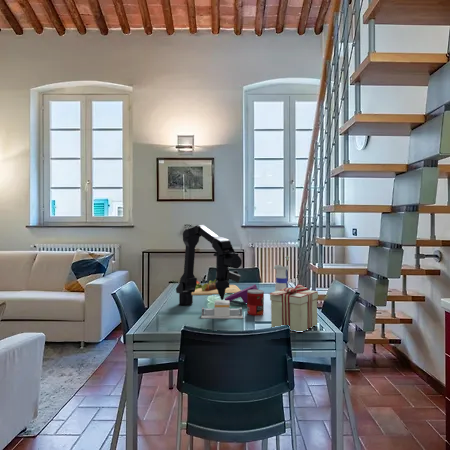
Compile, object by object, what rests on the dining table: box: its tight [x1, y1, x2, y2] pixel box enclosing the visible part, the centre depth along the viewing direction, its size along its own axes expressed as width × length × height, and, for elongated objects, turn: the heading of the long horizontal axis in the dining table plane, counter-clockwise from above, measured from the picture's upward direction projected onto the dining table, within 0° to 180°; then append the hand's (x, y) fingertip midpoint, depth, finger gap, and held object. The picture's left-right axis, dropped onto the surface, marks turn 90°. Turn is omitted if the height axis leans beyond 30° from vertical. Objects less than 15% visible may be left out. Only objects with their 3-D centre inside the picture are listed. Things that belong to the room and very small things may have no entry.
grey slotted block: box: [213, 299, 231, 316], centre depth 181 cm, size 7×6×6 cm
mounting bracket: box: [224, 284, 259, 304], centre depth 209 cm, size 9×8×18 cm
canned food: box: [246, 289, 265, 317], centre depth 185 cm, size 8×8×11 cm
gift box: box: [269, 284, 319, 331], centre depth 164 cm, size 17×18×17 cm
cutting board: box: [192, 278, 242, 296], centre depth 241 cm, size 35×23×8 cm
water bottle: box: [272, 255, 291, 292], centre depth 214 cm, size 8×9×25 cm
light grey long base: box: [200, 306, 244, 319], centre depth 181 cm, size 19×9×4 cm, turn 91°
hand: (222, 299), depth 181 cm, fingers closed
